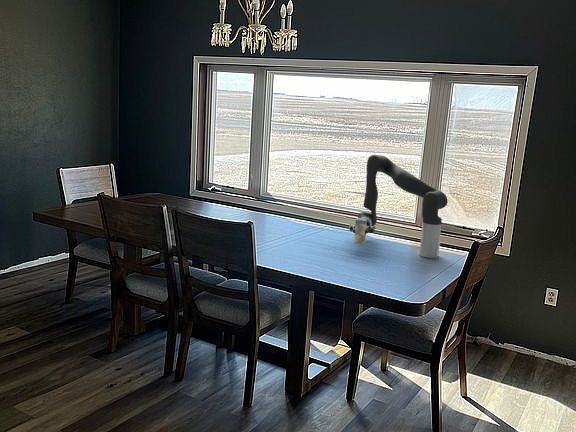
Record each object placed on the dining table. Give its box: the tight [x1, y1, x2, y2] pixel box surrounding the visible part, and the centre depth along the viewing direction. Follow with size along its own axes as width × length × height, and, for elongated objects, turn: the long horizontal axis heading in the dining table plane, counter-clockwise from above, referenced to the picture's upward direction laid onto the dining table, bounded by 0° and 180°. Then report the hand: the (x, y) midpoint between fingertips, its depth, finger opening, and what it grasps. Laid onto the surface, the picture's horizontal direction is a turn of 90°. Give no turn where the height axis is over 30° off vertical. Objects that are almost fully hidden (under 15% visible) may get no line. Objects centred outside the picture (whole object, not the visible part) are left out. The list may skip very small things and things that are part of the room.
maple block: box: [353, 217, 367, 245], centre depth 298 cm, size 5×5×12 cm
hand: (360, 231), depth 296 cm, fingers closed on maple block, 5 cm apart
